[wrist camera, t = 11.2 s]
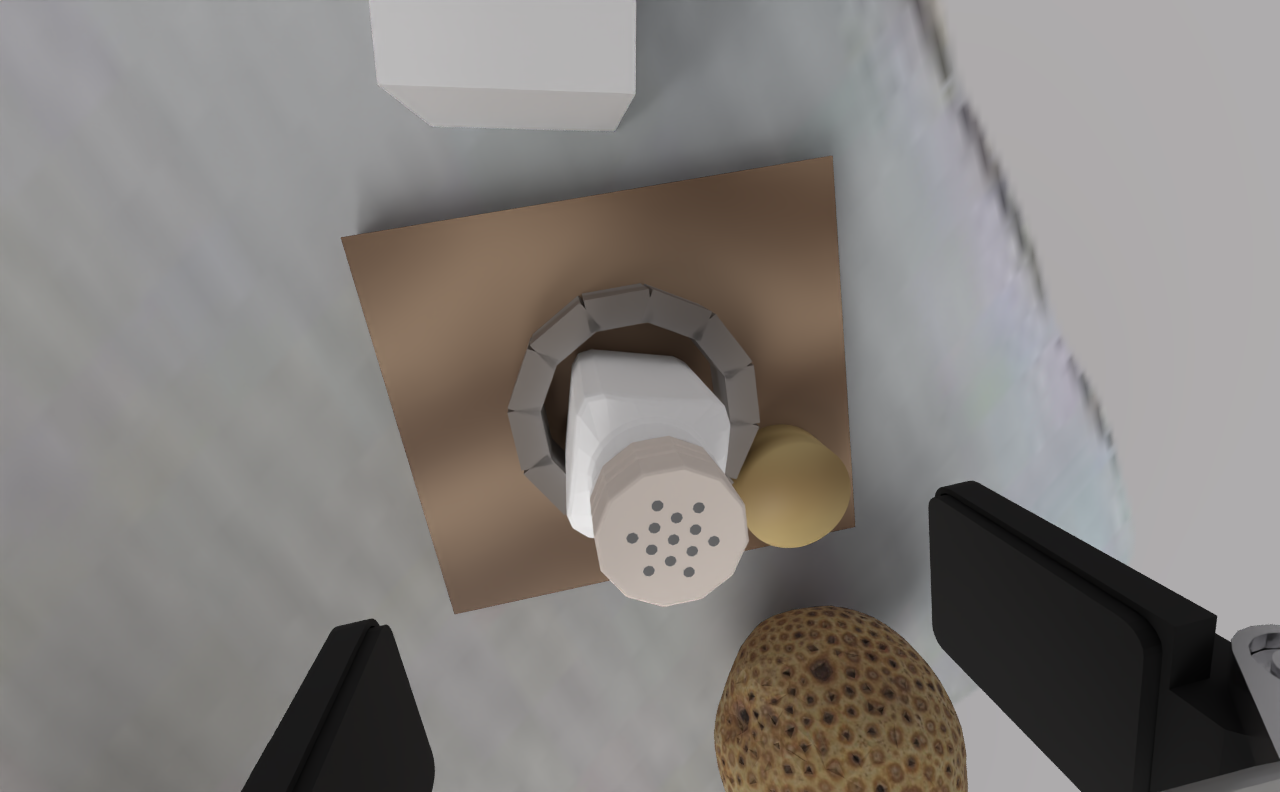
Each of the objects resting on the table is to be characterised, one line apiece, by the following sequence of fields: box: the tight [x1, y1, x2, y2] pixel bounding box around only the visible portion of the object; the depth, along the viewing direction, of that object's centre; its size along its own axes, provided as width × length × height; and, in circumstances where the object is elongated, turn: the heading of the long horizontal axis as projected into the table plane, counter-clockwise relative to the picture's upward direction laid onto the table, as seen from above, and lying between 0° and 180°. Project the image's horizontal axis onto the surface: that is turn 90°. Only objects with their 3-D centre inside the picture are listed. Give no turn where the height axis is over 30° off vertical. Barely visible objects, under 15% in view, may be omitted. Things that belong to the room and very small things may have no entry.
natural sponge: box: [714, 606, 968, 792], centre depth 22 cm, size 9×9×10 cm
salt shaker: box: [565, 349, 749, 607], centre depth 16 cm, size 4×4×10 cm
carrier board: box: [341, 156, 855, 614], centre depth 21 cm, size 14×16×4 cm
